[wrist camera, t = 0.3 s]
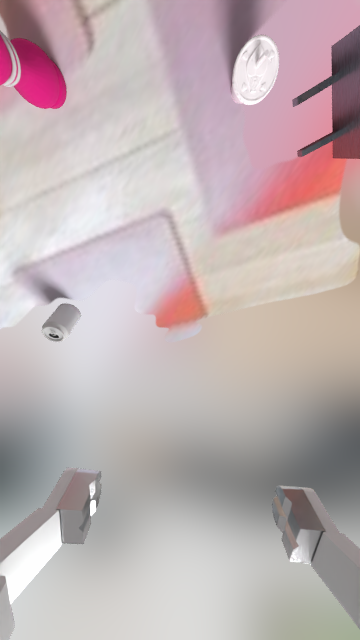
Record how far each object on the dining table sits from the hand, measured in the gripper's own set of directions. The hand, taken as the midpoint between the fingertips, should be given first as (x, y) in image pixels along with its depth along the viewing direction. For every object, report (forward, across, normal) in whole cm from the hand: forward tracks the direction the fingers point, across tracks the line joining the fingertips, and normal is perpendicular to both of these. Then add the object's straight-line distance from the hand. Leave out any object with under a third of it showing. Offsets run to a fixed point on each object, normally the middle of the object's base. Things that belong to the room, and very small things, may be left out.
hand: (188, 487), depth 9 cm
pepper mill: (+38, +28, -40) cm, 62 cm away
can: (+60, +38, +8) cm, 72 cm away
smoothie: (+39, -6, -42) cm, 58 cm away
